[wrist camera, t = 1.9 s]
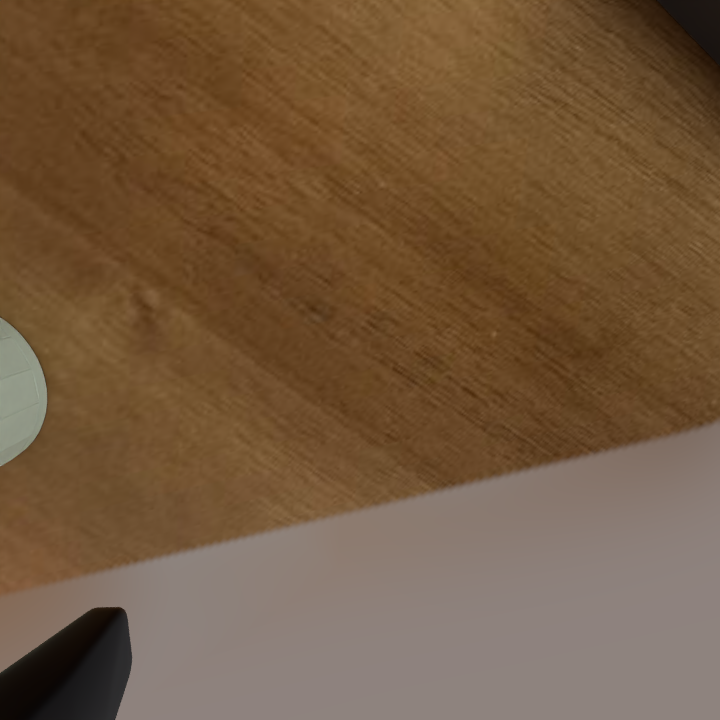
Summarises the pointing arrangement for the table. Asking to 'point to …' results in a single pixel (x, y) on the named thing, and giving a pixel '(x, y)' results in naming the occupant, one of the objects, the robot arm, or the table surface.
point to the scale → (698, 22)
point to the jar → (19, 393)
